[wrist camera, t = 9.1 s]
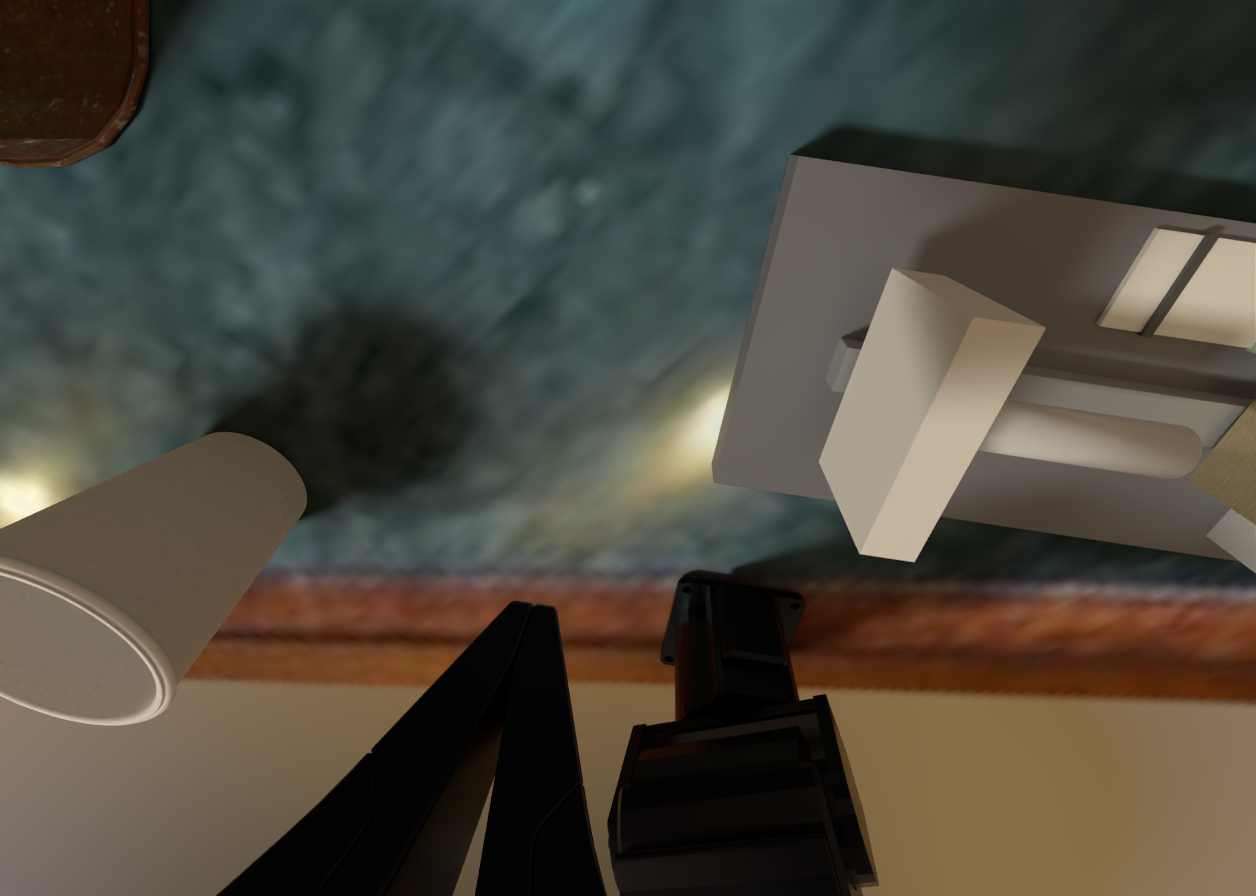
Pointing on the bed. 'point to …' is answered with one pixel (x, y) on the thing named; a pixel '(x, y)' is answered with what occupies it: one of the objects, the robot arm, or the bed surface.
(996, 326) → the plunger
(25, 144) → the oil lamp
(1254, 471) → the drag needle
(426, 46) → the bed surface
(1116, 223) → the base
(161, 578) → the dixie cup
